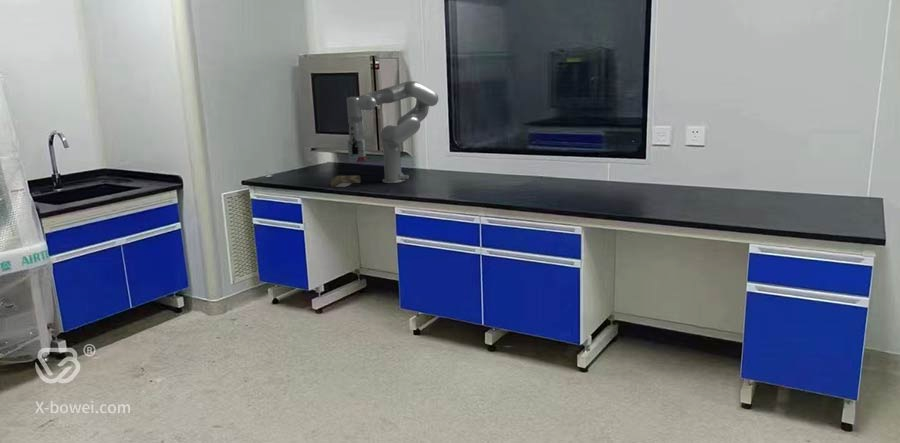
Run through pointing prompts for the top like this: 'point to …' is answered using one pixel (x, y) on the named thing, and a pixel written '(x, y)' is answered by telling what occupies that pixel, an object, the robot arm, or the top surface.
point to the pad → (343, 184)
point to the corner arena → (345, 180)
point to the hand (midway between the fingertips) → (357, 153)
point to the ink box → (361, 152)
